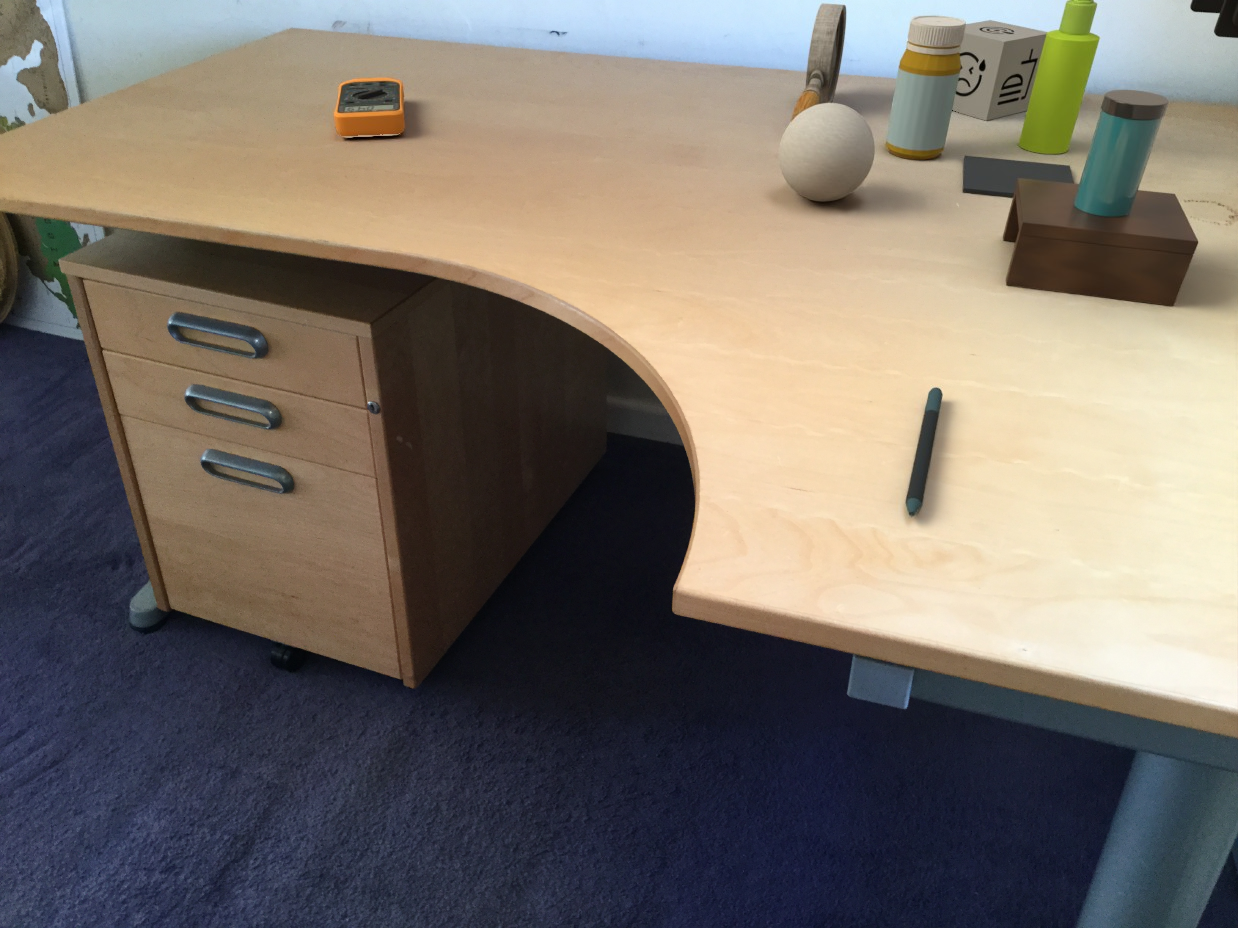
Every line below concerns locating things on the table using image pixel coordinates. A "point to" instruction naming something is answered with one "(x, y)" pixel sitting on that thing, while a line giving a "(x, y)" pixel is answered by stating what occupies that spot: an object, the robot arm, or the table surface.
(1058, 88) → the soap dispenser
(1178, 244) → the wooden box
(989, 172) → the mat
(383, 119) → the multimeter
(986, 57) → the icon cube
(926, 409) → the pen
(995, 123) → the table surface
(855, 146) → the ball
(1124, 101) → the spice jar
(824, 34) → the magnifying glass
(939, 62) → the bottle
